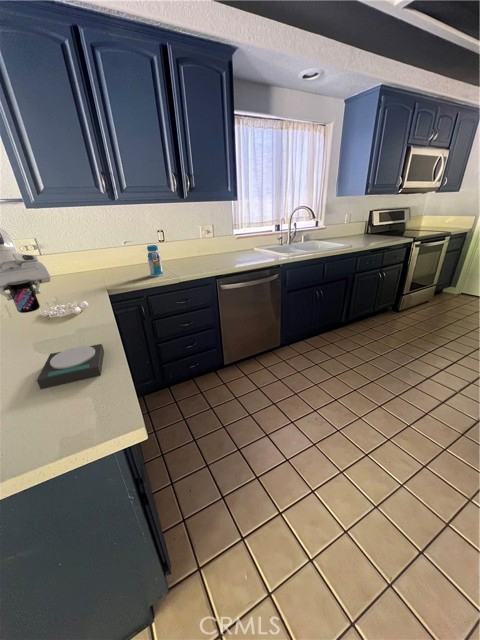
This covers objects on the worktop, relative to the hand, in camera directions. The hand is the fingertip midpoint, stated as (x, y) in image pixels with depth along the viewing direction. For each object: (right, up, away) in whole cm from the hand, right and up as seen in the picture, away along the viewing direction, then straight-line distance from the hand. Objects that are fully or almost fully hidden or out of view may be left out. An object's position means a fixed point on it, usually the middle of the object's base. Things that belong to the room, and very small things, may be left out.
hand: (24, 296), depth 93 cm
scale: (+26, -23, -12) cm, 37 cm away
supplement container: (0, -5, +3) cm, 6 cm away
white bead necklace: (-5, -6, +30) cm, 31 cm away
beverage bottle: (+18, +23, +91) cm, 96 cm away
